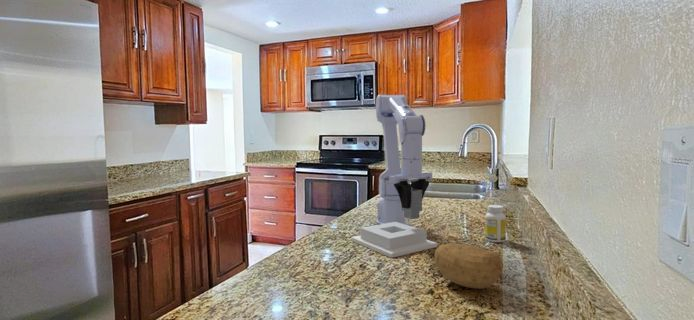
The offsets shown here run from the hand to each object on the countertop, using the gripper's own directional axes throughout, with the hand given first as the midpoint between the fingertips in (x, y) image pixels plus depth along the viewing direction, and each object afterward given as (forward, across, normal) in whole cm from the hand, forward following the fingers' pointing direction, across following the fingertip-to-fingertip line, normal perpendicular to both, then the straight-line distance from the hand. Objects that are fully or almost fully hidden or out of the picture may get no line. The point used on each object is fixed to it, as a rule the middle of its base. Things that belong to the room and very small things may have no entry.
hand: (411, 207), depth 103 cm
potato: (+10, -12, -28) cm, 32 cm away
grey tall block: (+3, 0, 0) cm, 3 cm away
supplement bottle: (+10, +20, -13) cm, 26 cm away
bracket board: (+10, -5, +2) cm, 11 cm away
